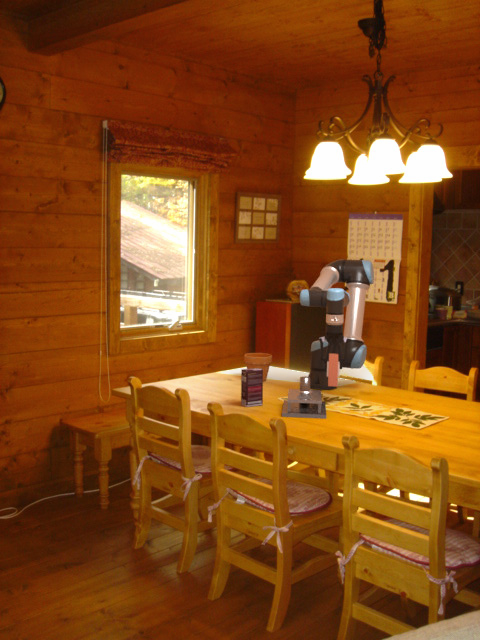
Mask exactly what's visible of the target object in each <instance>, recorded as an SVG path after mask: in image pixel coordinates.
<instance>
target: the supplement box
mask: <svg viewBox="0 0 480 640" xmlns="http://www.w3.org/2000/svg"><path fill="white" fill-rule="evenodd" d="M240 373H241V375H240V376H241V378H240V379H241V380H240V382H241V383H240V385H241V386H240V387H241V389H240V405H241V406H243V407H245V408H249V407H257V406H263V401H264V400H263V395H264V393H263V391H264V390H263V389H264V381H263V369H260V368H252V369H247V368H243V369H242V368H241V372H240Z"/></svg>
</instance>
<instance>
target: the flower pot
mask: <svg viewBox="0 0 480 640" xmlns="http://www.w3.org/2000/svg"><path fill="white" fill-rule="evenodd" d="M243 357H244V358H243V362H244V363H245V365H246V366H245V367H246V369H252V368H260V369H263V382H266V381H267V379H268V374H269V371H270V370H269V369H270V366H271V364H272V363H273V355H272V354H270V353H266V352H265V353H264V352H249V353H245V354H244V355H243Z"/></svg>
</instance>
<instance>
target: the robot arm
mask: <svg viewBox="0 0 480 640" xmlns="http://www.w3.org/2000/svg"><path fill="white" fill-rule="evenodd" d="M337 283H339V284H340V283H341V284H342V283H344V284H345V286H346V288H348V291H346V290H344V289H343V288H341V287H340V288H339V287H335V288H334V287H333V285H335V284H337ZM374 283H375V271H374V264H373V262H372V261H370V260H367V259H342V258H341V259H337V260H334V261H331V262H330V263H328V264H326V265H325V266H323V268H322V269H321V271H320V273H319V276H318V278H317V279H316V280H315V282H314V283H313V285H311V287H310V288H309V289H307V288H306V289H302V290H300V294H299V302H300V305H301V306H305V307H318V308H319V307H320V308H325V309H326V313H325V314H326V315H325V323H326V324H325V334H324V335H323V336H320V337H319V338H318V340H314V341H313V342H312V343H311V347H310V368H309V373H308V376H307V377H310V389H311V390H321V391H323V390H325V391H327V390H328V391H329V390H334V389H337V388H338V385H337V386H328V377H329V353H336V354H338V378H340V371H341V370H343V369H344V368H346V369H357V370H358V369H361V368H362V367H364V364H365V363H366V357H367V353H368V351H367V350H368V347H367V345H366V344H365V341H364V340H363V339H362V335H363V326H364V316H365V307H366V296H367V291H368V290H369V289H371V285H373V284H374ZM345 307H346V312H345V311H344V309H345ZM344 312H345V315H344ZM344 316H345V321H344ZM343 324H344V325H343Z"/></svg>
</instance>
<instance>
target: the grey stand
mask: <svg viewBox="0 0 480 640" xmlns="http://www.w3.org/2000/svg"><path fill="white" fill-rule="evenodd" d="M322 398H323V397H322V390H321V389H312V388H310V377H308V376H305V375H304V376H303V375H302V376H300V377H299V388H295V389H294V388H288V392H287V399H286V400H285V399H284V400H283V405H282V410H281V417H284V418H306V419H310V418H311V419H327V407H326V401H323V399H322Z"/></svg>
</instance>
